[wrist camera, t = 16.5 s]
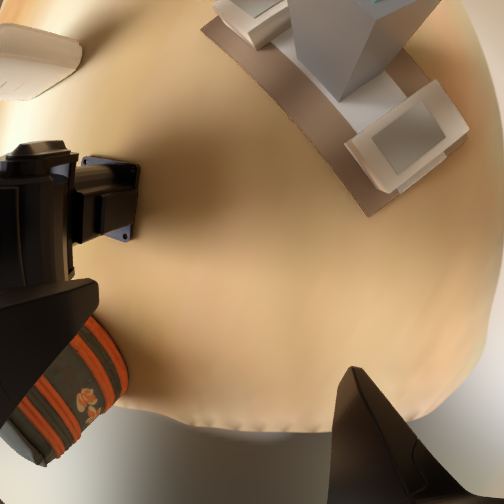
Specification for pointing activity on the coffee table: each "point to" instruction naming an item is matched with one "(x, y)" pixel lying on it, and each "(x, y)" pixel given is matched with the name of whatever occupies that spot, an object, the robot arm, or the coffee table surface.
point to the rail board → (345, 105)
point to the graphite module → (353, 37)
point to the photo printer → (34, 60)
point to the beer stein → (67, 396)
